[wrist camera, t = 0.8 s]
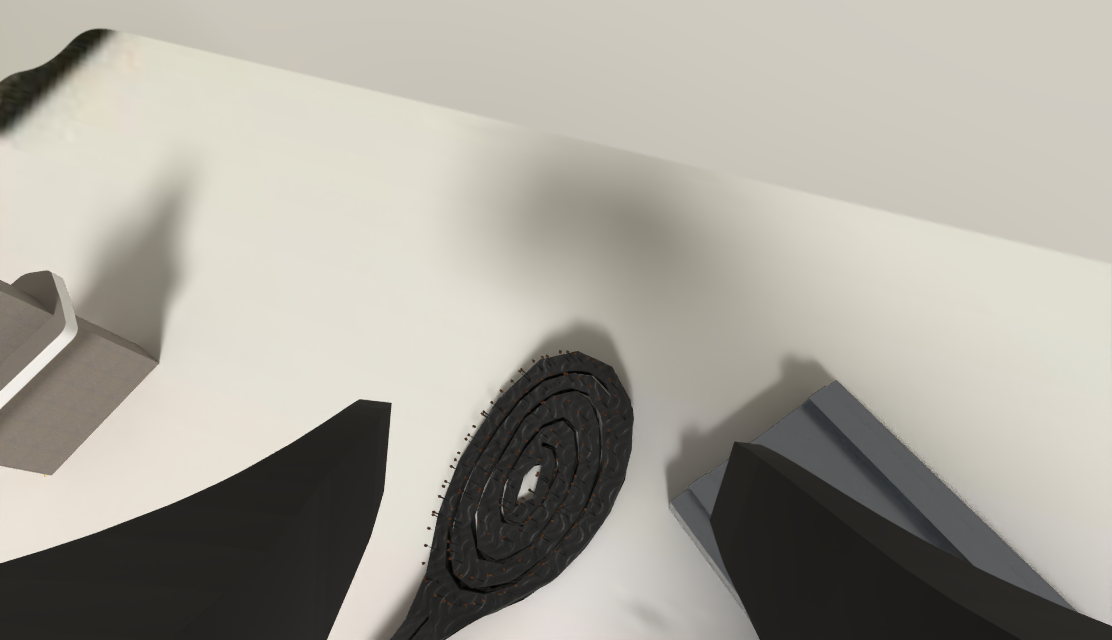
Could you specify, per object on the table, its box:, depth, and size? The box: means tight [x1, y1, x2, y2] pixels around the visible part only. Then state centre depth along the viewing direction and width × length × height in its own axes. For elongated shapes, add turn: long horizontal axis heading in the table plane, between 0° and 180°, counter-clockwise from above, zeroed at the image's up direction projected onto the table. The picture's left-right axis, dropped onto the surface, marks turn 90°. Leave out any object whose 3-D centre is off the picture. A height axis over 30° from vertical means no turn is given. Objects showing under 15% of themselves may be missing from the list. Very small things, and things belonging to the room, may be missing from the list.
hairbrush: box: [391, 350, 634, 640], centre depth 24 cm, size 8×4×25 cm
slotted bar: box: [669, 380, 1077, 619], centre depth 20 cm, size 18×10×3 cm, turn 33°
